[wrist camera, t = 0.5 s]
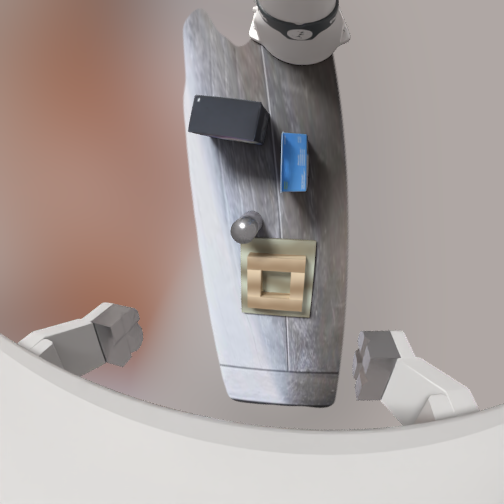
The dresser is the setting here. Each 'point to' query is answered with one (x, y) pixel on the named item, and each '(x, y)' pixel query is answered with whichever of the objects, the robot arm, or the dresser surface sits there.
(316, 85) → the dresser surface
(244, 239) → the peg
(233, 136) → the small box
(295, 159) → the label tape box
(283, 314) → the hub block
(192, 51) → the dresser surface
